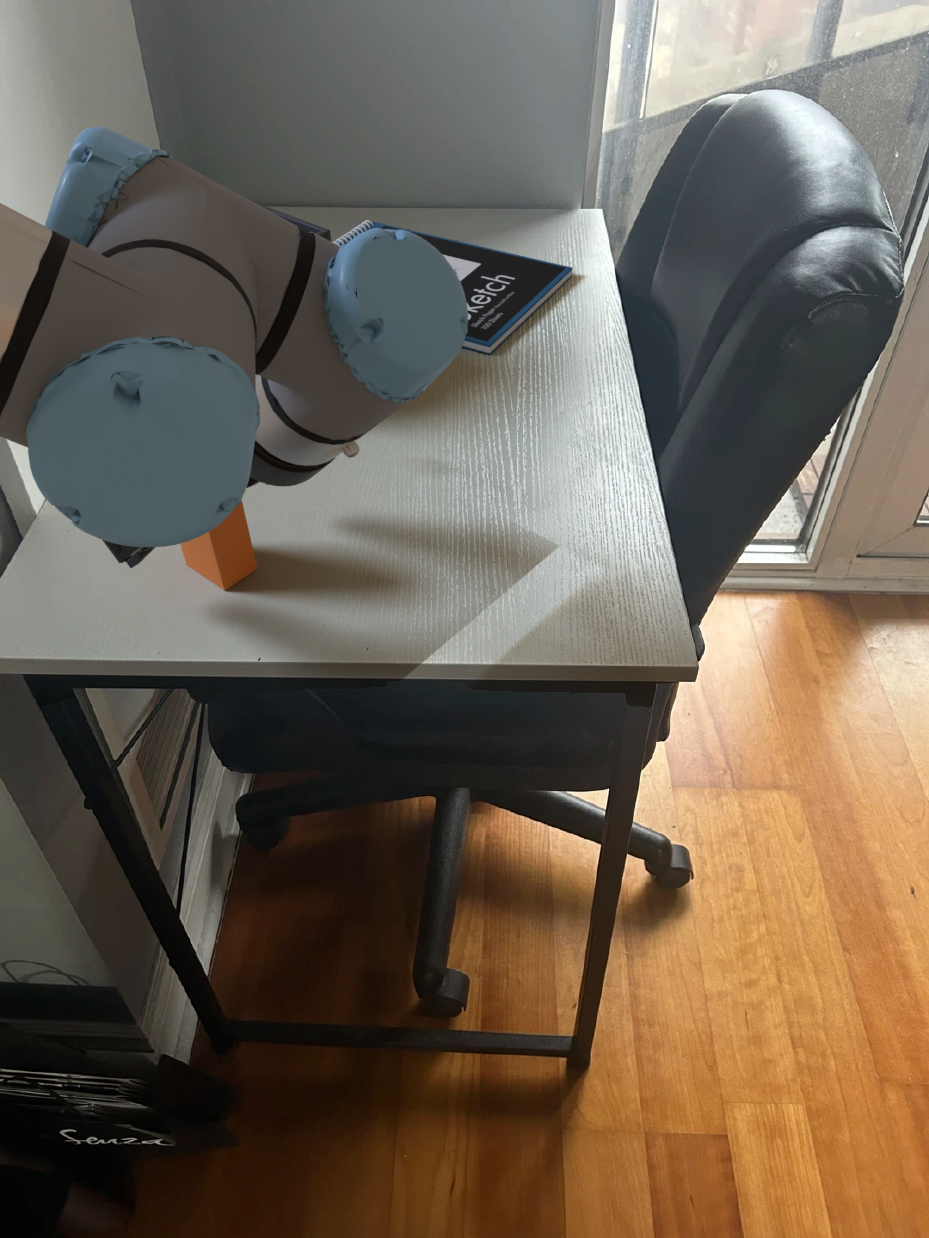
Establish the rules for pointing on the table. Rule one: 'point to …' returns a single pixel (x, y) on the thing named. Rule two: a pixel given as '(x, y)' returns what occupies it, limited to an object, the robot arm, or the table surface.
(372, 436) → the table surface
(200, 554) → the block
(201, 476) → the robot arm
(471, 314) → the sketchbook
